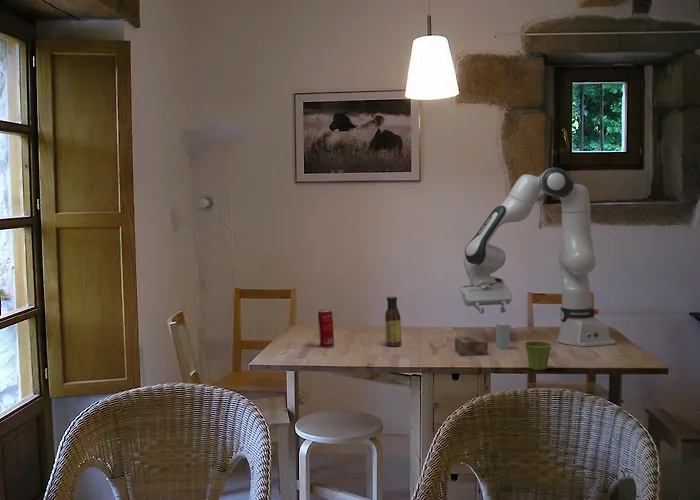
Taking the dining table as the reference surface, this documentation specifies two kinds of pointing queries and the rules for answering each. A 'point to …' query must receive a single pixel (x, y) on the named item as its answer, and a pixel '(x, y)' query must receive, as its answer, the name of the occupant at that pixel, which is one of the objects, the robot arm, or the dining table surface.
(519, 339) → the dining table surface
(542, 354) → the plant pot
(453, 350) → the grey mat
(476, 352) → the walnut base block
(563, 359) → the dining table surface
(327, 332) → the beverage can
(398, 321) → the sauce bottle
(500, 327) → the pillar block
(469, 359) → the dining table surface
